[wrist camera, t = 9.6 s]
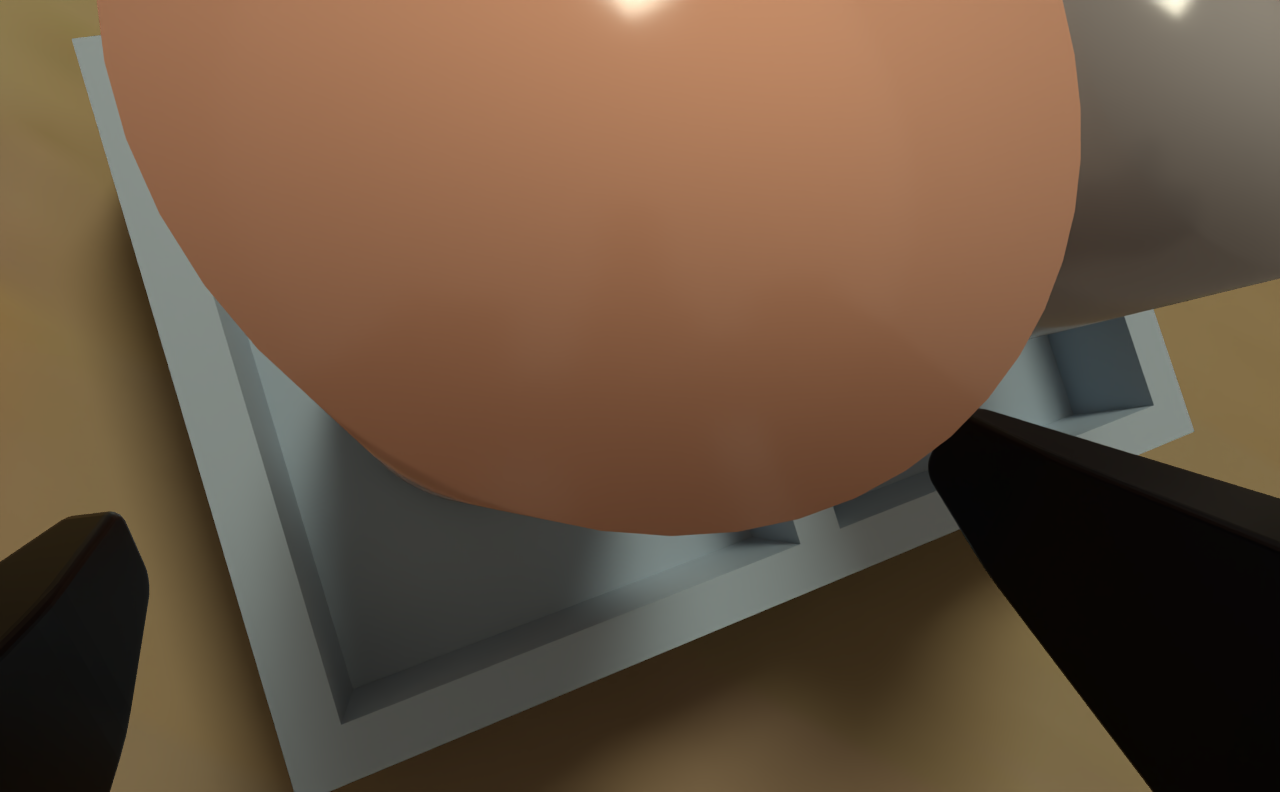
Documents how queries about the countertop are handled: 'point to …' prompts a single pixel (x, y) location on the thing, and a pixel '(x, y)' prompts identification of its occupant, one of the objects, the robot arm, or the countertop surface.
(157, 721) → the countertop surface
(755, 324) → the peach round cylinder
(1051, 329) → the grey cylinder
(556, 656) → the cup rack
